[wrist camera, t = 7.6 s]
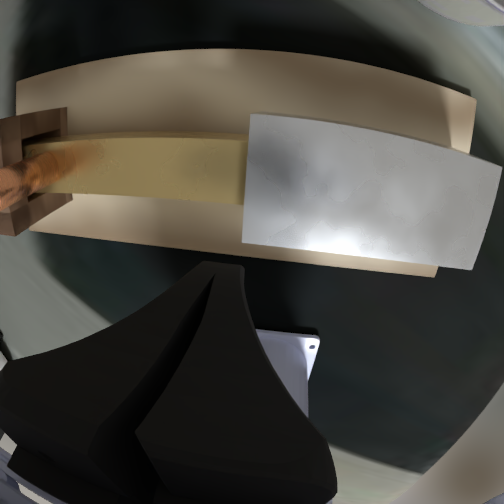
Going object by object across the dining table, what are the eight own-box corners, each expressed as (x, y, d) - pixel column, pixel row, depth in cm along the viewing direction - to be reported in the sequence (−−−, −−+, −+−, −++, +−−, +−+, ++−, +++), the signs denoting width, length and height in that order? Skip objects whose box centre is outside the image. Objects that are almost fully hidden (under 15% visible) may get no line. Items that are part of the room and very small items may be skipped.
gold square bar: (301, 193, 17) (311, 265, 10) (34, 179, 18) (-46, 221, 11) (308, 140, 15) (327, 172, 8) (30, 140, 17) (-55, 171, 10)
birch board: (431, 273, 20) (434, 277, 20) (33, 227, 22) (29, 230, 22) (471, 99, 14) (476, 99, 14) (21, 81, 16) (16, 81, 16)
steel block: (433, 227, 18) (471, 270, 13) (254, 203, 19) (241, 242, 14) (451, 146, 15) (502, 167, 10) (261, 111, 16) (250, 113, 11)
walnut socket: (72, 199, 20) (15, 236, 14) (30, 198, 20) (-24, 230, 14) (67, 106, 17) (-1, 119, 11) (23, 115, 17) (-39, 131, 11)
